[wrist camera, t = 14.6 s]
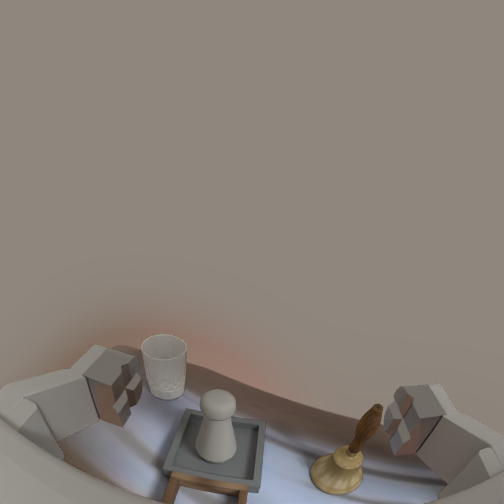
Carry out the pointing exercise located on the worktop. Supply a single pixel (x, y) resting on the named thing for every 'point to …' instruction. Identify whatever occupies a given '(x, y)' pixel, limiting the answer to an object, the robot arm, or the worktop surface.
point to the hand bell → (346, 459)
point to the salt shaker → (216, 427)
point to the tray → (233, 470)
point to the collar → (203, 487)
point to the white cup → (165, 365)
